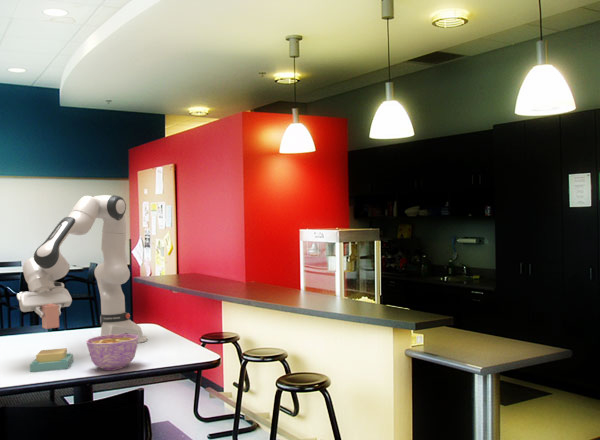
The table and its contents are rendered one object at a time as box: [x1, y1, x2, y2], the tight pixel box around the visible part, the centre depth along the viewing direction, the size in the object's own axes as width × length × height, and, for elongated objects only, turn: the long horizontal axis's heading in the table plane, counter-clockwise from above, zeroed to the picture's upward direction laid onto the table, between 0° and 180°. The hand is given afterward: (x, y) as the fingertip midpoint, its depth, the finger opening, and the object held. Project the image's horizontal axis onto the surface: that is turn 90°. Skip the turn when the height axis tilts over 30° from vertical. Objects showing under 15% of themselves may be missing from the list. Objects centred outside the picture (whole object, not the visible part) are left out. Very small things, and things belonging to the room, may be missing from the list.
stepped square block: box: [29, 348, 74, 373], centre depth 244 cm, size 14×14×6 cm
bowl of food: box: [86, 334, 139, 371], centre depth 238 cm, size 20×20×12 cm
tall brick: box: [41, 304, 60, 330], centre depth 244 cm, size 5×5×10 cm
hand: (50, 315), depth 244 cm, fingers closed on tall brick, 5 cm apart
